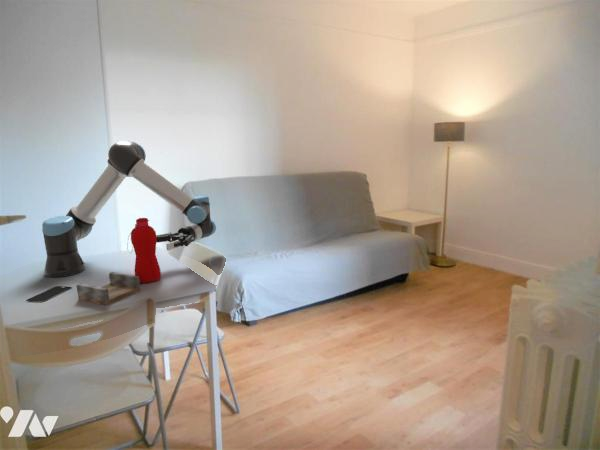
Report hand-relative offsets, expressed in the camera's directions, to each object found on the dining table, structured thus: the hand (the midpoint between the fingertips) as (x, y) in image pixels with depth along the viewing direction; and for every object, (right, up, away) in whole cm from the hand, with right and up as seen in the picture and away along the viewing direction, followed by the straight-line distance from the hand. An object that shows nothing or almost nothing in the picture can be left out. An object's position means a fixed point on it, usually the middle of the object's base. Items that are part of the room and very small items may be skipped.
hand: (154, 245), depth 165 cm
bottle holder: (-10, -17, -17) cm, 26 cm away
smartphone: (-33, -18, -14) cm, 40 cm away
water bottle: (-3, -14, -2) cm, 14 cm away
